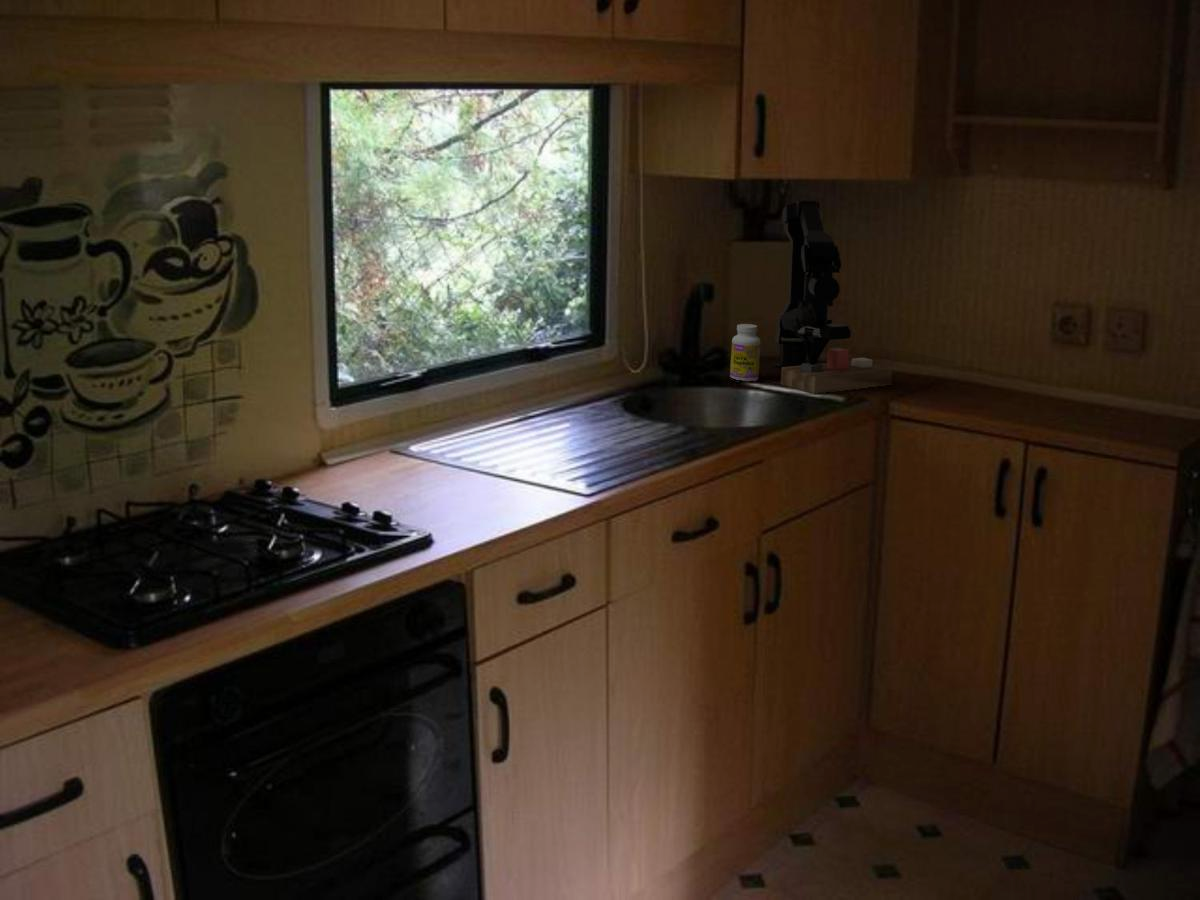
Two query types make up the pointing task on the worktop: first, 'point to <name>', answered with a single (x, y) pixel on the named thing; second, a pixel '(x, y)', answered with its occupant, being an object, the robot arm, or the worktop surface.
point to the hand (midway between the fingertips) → (812, 364)
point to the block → (836, 378)
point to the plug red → (837, 359)
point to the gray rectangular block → (812, 367)
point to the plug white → (861, 362)
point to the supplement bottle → (745, 353)
